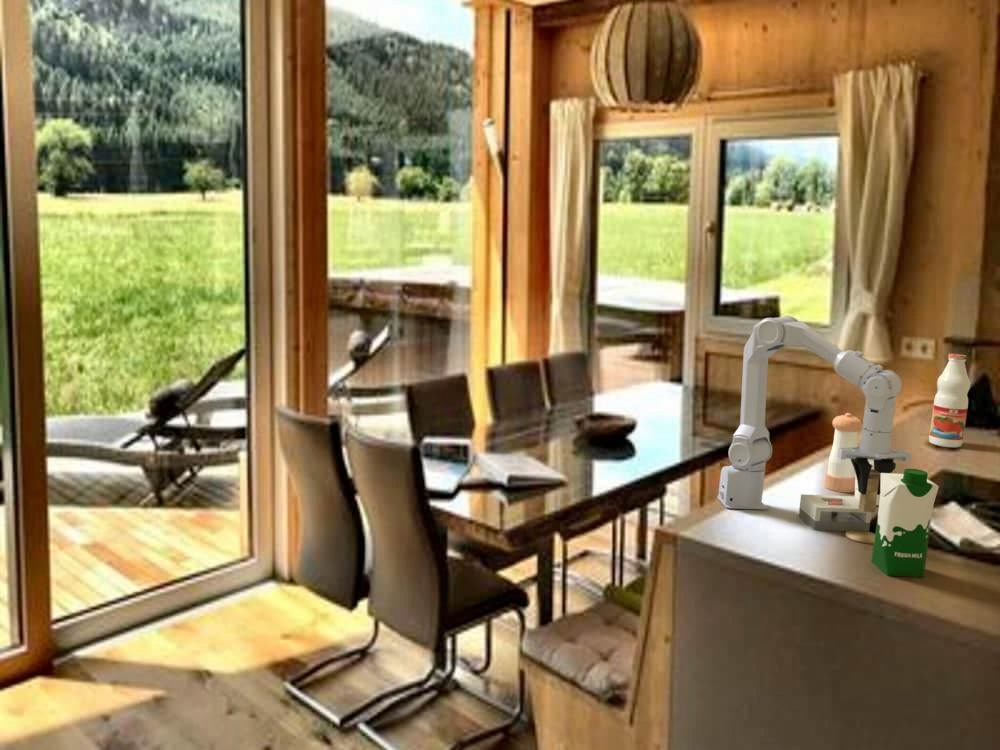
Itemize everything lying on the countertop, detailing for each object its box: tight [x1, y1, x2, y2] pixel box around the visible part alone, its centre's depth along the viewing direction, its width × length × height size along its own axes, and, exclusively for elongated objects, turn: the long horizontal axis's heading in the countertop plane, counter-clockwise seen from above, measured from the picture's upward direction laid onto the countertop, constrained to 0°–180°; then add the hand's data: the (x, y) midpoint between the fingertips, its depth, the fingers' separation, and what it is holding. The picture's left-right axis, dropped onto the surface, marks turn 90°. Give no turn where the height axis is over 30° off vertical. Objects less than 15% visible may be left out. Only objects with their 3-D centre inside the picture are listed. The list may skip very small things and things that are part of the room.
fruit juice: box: [928, 353, 971, 448], centre depth 278 cm, size 9×9×28 cm
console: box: [798, 494, 872, 532], centre depth 198 cm, size 12×9×5 cm
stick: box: [859, 469, 880, 513], centre depth 189 cm, size 2×2×8 cm
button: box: [827, 501, 844, 515], centre depth 198 cm, size 3×3×3 cm
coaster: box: [845, 530, 875, 545], centre depth 190 cm, size 7×7×1 cm
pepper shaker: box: [824, 412, 863, 493], centre depth 224 cm, size 7×7×19 cm
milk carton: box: [870, 468, 940, 578], centre depth 172 cm, size 9×9×20 cm
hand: (869, 493), depth 189 cm, fingers closed on stick, 2 cm apart
